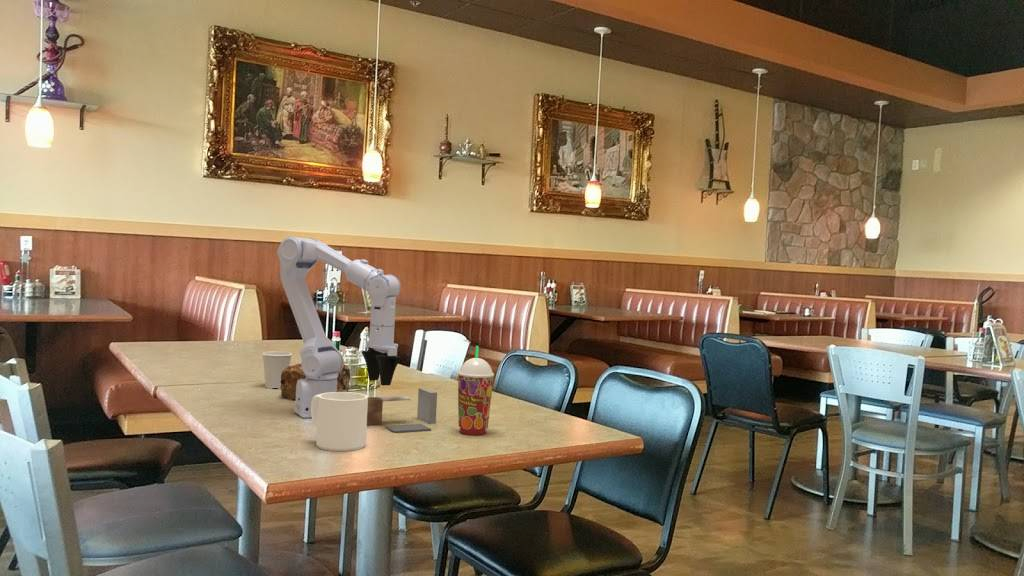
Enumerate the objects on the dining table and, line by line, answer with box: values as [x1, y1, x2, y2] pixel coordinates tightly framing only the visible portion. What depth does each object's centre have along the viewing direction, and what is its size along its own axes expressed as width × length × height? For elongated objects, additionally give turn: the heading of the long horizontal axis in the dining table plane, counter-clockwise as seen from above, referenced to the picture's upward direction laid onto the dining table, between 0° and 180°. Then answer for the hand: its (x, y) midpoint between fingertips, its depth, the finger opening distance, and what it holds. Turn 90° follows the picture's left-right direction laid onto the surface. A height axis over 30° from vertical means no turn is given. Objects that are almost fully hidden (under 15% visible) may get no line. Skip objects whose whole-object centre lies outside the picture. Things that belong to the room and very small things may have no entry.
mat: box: [384, 423, 432, 434], centre depth 179 cm, size 9×6×1 cm, turn 120°
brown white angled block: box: [367, 395, 411, 427], centre depth 184 cm, size 11×4×6 cm, turn 120°
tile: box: [416, 387, 438, 425], centre depth 189 cm, size 2×7×8 cm, turn 30°
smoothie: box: [457, 345, 495, 436], centre depth 179 cm, size 8×8×20 cm
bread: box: [279, 362, 352, 400], centre depth 215 cm, size 19×11×10 cm, turn 156°
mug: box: [311, 391, 369, 452], centre depth 161 cm, size 13×10×10 cm
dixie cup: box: [261, 350, 293, 389], centre depth 225 cm, size 8×8×10 cm
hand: (379, 382), depth 184 cm, fingers open, 7 cm apart
